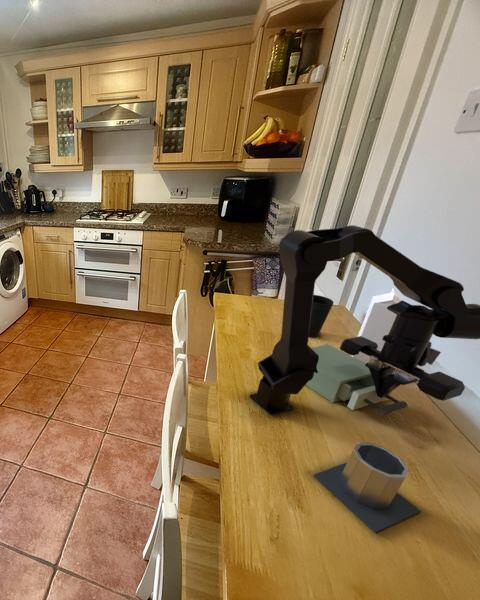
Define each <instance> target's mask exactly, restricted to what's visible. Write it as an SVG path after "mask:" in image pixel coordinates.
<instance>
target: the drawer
mask: <svg viewBox="0 0 480 600" xmlns="http://www.w3.org/2000/svg"><path fill="white" fill-rule="evenodd" d="M392 393H393V391H392V392H390V393H389V394H388V395H386V396H385V397H383V398H380V397H378V396H377V394H376V389H375V385H374V381H373V378H372V376H369V377H365V378H361V379H358V380H354V381H350V382H346V383H343V384H342V386H341V388H340V391H339V393H338V396H337V397H339V398H340V399H342V400H341V401H343V402H345V401H348V400H349V401H348V404H347V405H346V406H347V407H346V408H349V409H350V410H352V411H354V410H357V409H361V408H364V407H367V406H371V407H372V408H374V409H375V410H376V411H377V413H378V414H379V415H382V416H385V415H388V414H391V413H393V412H396V411H399V410H403V409H406V408H408V405H409V404H408V403H407V402H406V401H404V400H398V399H396V398H394V397H393V396H391V395H392ZM387 400H389V401H391V402H393V403H390V404H388V405H384V406H381V407H380V406H379V405H377V404H378V403H380V402H381V403H382V402H384V401H387Z"/></svg>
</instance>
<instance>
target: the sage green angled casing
mask: <svg viewBox="0 0 480 600" xmlns="http://www.w3.org/2000/svg"><path fill="white" fill-rule="evenodd" d="M310 348H311V349H312V350H313V351H314V352H315V353H317V354H318V355H319V361H318V363H317V371H318V373H315V372H314V376H313V378H312V380H310V381H308V382H307V383H306V385H305V386H307V387H308V388H310V389H312V390H313V391H314V392H316V393H317V394H318V395H320V396H322V397H323V398H325V399H327V400H328V401H329V402H331V403H333V404H334V403H337V402H341V401H343V400H342V399H340V398H339V397H337V396H338V393H339V391H340V388H341V386H342V384H343V383H346V382H350V381H354V380H358V379H361V378H365V377H369V376H371V373H370V370H369V368H368V367H366V366H365V364H366V363H364V362H362V361H360V360H358V359H356V358H354V357H352V356H350V355H349V354H348V353H346V352H344V351H342V350H340V349H338V348H336V347H334V346H332V345H331V344H328V343H327V344H323V345H318V346H312V347H310Z"/></svg>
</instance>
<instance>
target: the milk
mask: <svg viewBox="0 0 480 600" xmlns="http://www.w3.org/2000/svg"><path fill="white" fill-rule="evenodd" d="M400 301H403V299H401V298H399V296H396V292H395V288H394V287H392V288H391V291H390V292H387V293H383V294H377V295H373V296H372V298H371V301H370V303H369V305H368V309H367V312H366V314H365V317H364V318H363V321H362V325H361V327H360V329H359V331H358V333H357V337H359V336H362V337H364V338H366V339H368V340H371V341H373V342H375V343H377V345H378V347H377V350H379V351H381V350H382V348H383V345H384V343H385V341H384V340H382V339H383V337H384V335H388V334H389V332H390V329H391V327H392V325H393V323H394V320H395V318H396V316H397V314H395V313H393V312H391V311H390V310H388V309H387V307H388V306H390V305H392V304H396V303H399V302H400ZM350 356H351V355H350ZM352 357H354V358H356V359H358V360H360V361H362V362H364V363H368V362H369V360H370V358H369V357H370V356H368V355H366V354H364V353H362V352H359V354H357V355H353V356H352Z"/></svg>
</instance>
